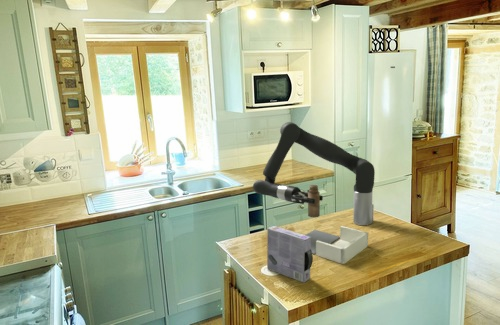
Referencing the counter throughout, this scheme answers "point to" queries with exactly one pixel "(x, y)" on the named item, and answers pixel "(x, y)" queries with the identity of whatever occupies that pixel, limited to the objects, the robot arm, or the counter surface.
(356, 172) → the robot arm
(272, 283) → the counter surface
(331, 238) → the serving board
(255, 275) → the counter surface
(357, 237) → the cubby
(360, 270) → the counter surface
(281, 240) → the cake pan box
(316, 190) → the pepper mill
